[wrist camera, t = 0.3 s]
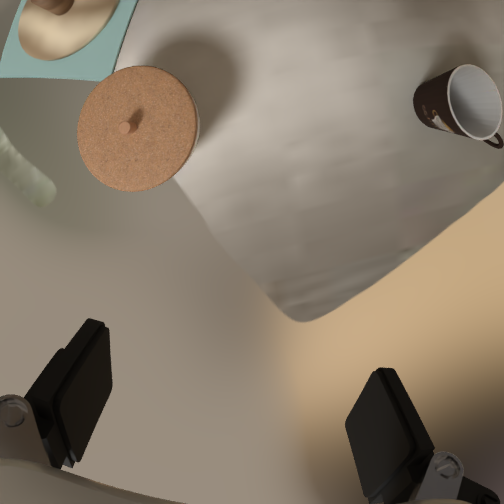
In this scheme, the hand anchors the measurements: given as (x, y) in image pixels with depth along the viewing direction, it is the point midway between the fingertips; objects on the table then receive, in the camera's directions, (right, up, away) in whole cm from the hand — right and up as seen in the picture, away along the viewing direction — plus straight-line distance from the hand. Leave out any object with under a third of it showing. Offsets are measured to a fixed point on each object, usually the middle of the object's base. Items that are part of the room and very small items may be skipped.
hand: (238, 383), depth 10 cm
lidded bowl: (-11, +19, +26) cm, 34 cm away
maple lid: (-25, +38, +18) cm, 49 cm away
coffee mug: (+25, +23, +25) cm, 42 cm away
